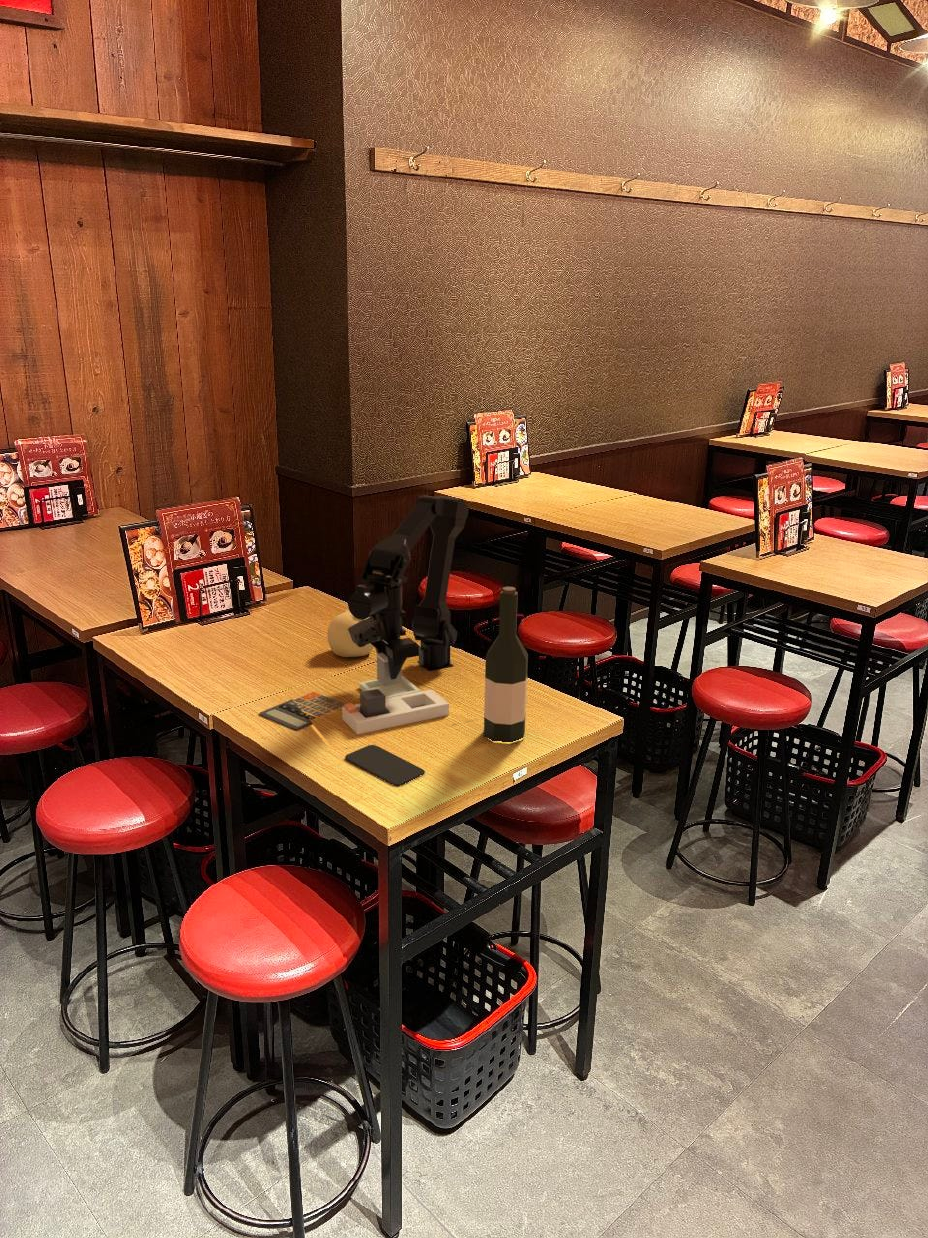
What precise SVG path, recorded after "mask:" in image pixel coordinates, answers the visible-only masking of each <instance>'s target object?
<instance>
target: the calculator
mask: <svg viewBox="0 0 928 1238" xmlns="http://www.w3.org/2000/svg"><path fill="white" fill-rule="evenodd" d="M344 704H345V703H343V702H341V701H340V700H339V701H338V700H336V699H333V698H330V697H328V696H325V695H323V694H320V693H318V692H315V691H312V692H309V693H308V694H305V695H302V696H301V698H300V697H298V698H295V699H289V700H288V701H284V702H282V703H280V704H277V705H274V706H272V707H270V708H268V709H265V710H262V711H260V712H258V715H259V716H260V715H261V717H262V716H263V718H265V719H267V718H268V719H267V720H269V719H270V720H269V721H272V722H274V723H276V724H279V725H282V726H284V727H286V728H288V729H291V730H293V731H296V732H297V731H301V730H303V729H305V728H308V727H309V726H312V725H314V724H313V722H312V721H311V720H314V719H317V717H322V716H323V715H325V714H327V713H330V712H332V711H335V710H337V709H339V708H342V707H344ZM313 715H314V716H313ZM316 716H317V717H316Z"/></svg>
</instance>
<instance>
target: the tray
mask: <svg viewBox="0 0 928 1238" xmlns="http://www.w3.org/2000/svg"><path fill="white" fill-rule="evenodd" d="M358 683H359V685H358V686H359V687H358V688H359V689H360V690H362V691H361V692H364V691H369V690H374V689H378V690H380V691H381V692H382V693H383V694H384V695H385V699H386V698H391V697H396V696H401V695H406V694H411V693H416V692H421V691H422V690H421V689H420V688H418V686H416V685H415V684H413V683H412V682H411V681H410V680H408V679H407V677H405V676H404V675H402V683H399V684H394V685H388V686H384V685H383V684H382V683H380V682H379V681H378V680H377V678H375V679H371V680H365V681H361V682H358Z"/></svg>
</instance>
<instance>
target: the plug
mask: <svg viewBox="0 0 928 1238" xmlns="http://www.w3.org/2000/svg"><path fill="white" fill-rule="evenodd" d="M402 668H403V667H402ZM402 668H401V670H400V672H399V674H398V676H397V678H396V679H391V677H390V671H389V665H388V658H387V657H386V656H385V655H384V654H383V653H377V652H376V677H377V678H376V679H377V680H378V681H379V682H380V683H382V684H383V685H384V686H388V685H394V684H399V683H402V676H403V673H402V672H403V670H402Z"/></svg>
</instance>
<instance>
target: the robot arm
mask: <svg viewBox="0 0 928 1238" xmlns="http://www.w3.org/2000/svg"><path fill="white" fill-rule="evenodd" d="M468 515H469V507H468V504H466V501H465V499H463V498H459V497H451V496H443V495H437V496H431V495H420V496H418V498H417V499H416V502H415V505H414V506H413V508H412V509H411V510H410V512H409V513H408V514H407V516H406V517H405V519H403V521H402V522H401V523H400V525H399V526H398V527H397V528H396V530H395V531H394V532H393V533H392V535H390V536H389V537H386V538H384V539H382V540H380V541H378V543H377V544H375V546H374V547H373V548H371V550H370V552H369V554H368V555H367V558H366V560H365V565H364V567H363V570H362V573H361V575H360V577H359V581H360V582H362V584H358V585H356V586H355V592H352V593H351V594H350V596H349V598H348V600H347V608H348V610H349V611H350V612H351V614H352V615H353V616H354V617H355V618H357V619H359V620H362V621H360V622H358V623H357V624H355V625H353V626H351V627H349V628H348V631H349V634H350V636H351V639H352V641H353V643H355V644H356V645H357V646H358V647H364V646H366V644H369V643H370V644H372V645H373V646H374V647H373V648H374V649H375V651H376V654H377V653H383V654H384V655H385V656H386V657H387V658H388V665H389V671H390V677H391V679H396V678H397V676H398V674H399V672H400V670H401V668H403V666H404V664H405V662H406V660H408V658H409V659H410V658H415V657H418V661H417V663H418V664H419V665H420V666H421V667H422V668H424V669H425V670H427V671H428V672H432V671H437V670H443V669H447V668H453V667H454V666H455V665H454V664H453V663H451V646H454V645H455V642H457V638H458V631H457V630H456V628H455V627H454V625H452V623H451V611H450V608H449V606H448V603H447V595H448V588H449V583H450V575H451V571H452V570H451V567H452V564H453V563H452V562H453V558H454V557H453V555H454V551H455V550H454V549H455V542H456V539H457V537H458V536H459V534H460V533H461V532H462V531H463V530H464V528H465V526H466V525H465V524H466V521H467V518H468ZM429 526H430V529H431V531H432V534H433V537H432V538H433V539H432V546H431V551H430V559H429V566H428V572H427V579H426V584H425V589H424V590H425V591H424V598H423V599H422V600H421V601H420V602H419V604H415V605H414V607H413V614H412V619H411V629H412V632H413V634H412V635H413V636H414V637H413V638H414V640H413V639H412V638H410V637H405V638H401V637H403V636H406V635H407V630H406V629H404V628H403V618H406V617H407V612H406V611H405V610H403V583H406V582H407V581H408V577H407V576H405V575H404V574H405V573H406V570H407V568H408V566H409V565H410V563H411V561H412V559H411V557H412V556H411V553H412V550H413V549H414V547H415V546H416V544H417V543H418V542H419V541H420V539H421V538H422V536H423V535H424V534H425V533H426V531H427V529H428V528H429ZM378 574H379V575H378ZM369 617H370V618H369ZM367 618H368V619H367ZM364 619H365V620H364ZM417 641H418V642H420V645H419V644H418V643H417Z"/></svg>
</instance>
